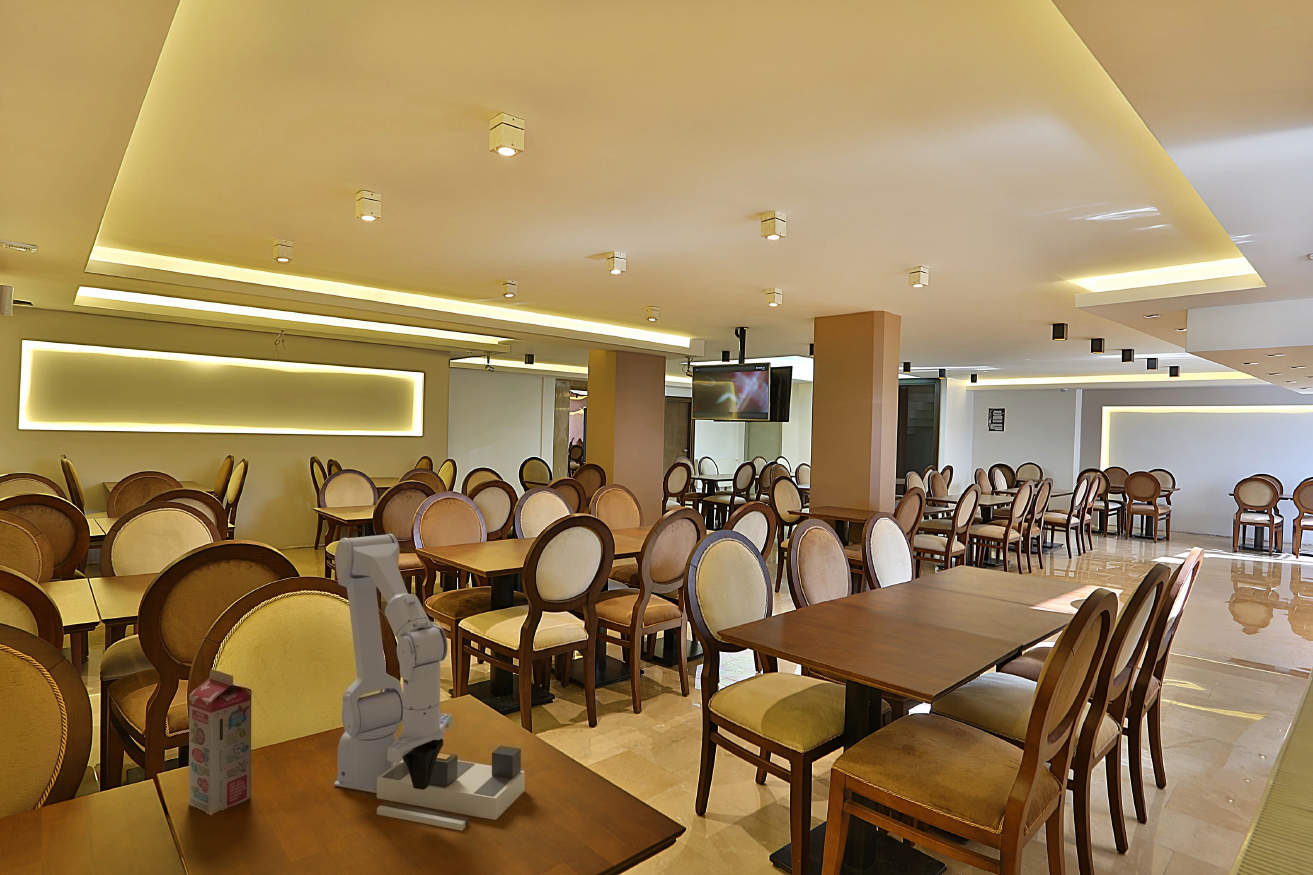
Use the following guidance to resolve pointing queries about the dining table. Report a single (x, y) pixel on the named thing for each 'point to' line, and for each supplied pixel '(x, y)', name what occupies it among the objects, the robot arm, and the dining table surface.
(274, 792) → the dining table surface
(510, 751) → the white panel with blocks
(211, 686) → the juice carton
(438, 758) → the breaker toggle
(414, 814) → the long grey stick
